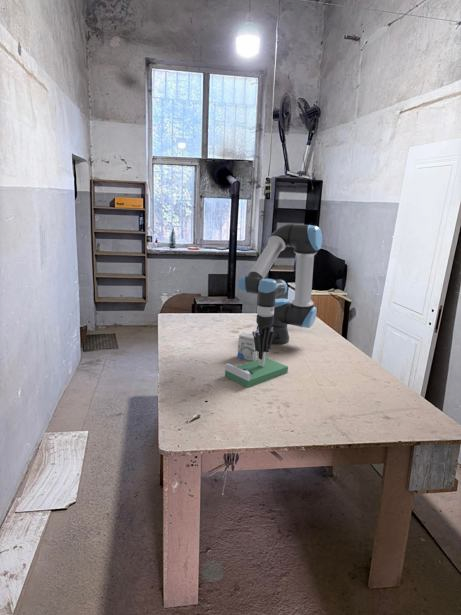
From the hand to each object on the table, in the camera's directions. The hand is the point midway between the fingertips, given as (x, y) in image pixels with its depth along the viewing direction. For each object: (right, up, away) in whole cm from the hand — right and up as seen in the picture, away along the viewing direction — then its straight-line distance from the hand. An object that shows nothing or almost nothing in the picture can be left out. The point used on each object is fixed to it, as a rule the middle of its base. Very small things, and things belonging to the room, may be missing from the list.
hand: (261, 365), depth 190 cm
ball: (-8, -3, -7) cm, 11 cm away
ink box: (-6, +1, +18) cm, 19 cm away
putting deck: (-2, -4, -1) cm, 5 cm away
